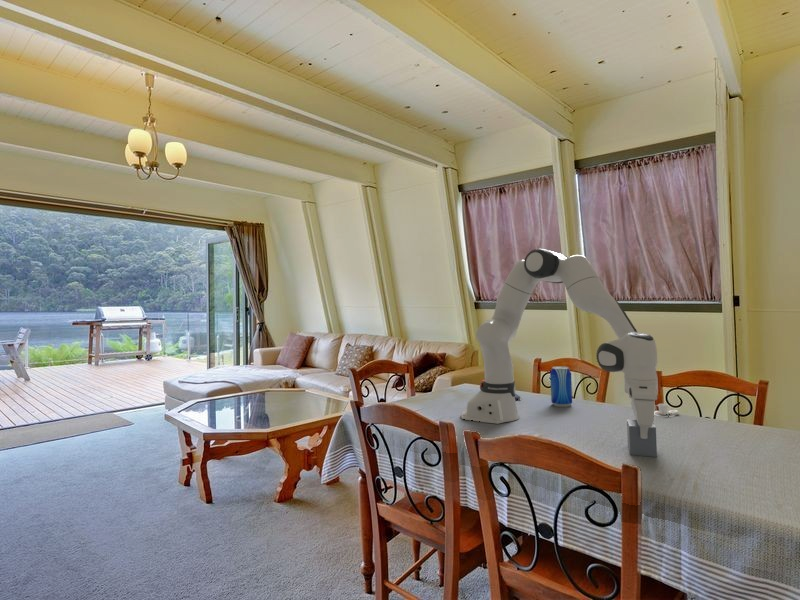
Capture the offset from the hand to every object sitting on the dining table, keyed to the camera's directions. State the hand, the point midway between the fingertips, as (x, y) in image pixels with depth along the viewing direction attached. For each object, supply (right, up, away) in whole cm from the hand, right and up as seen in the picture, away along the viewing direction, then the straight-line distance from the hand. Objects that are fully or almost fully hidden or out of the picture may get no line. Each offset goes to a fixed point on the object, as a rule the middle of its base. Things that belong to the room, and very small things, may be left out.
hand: (641, 432), depth 138 cm
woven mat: (-23, -6, +74) cm, 77 cm away
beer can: (-4, -5, +58) cm, 58 cm away
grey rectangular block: (0, -6, 0) cm, 6 cm away
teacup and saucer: (+29, -5, +35) cm, 45 cm away
